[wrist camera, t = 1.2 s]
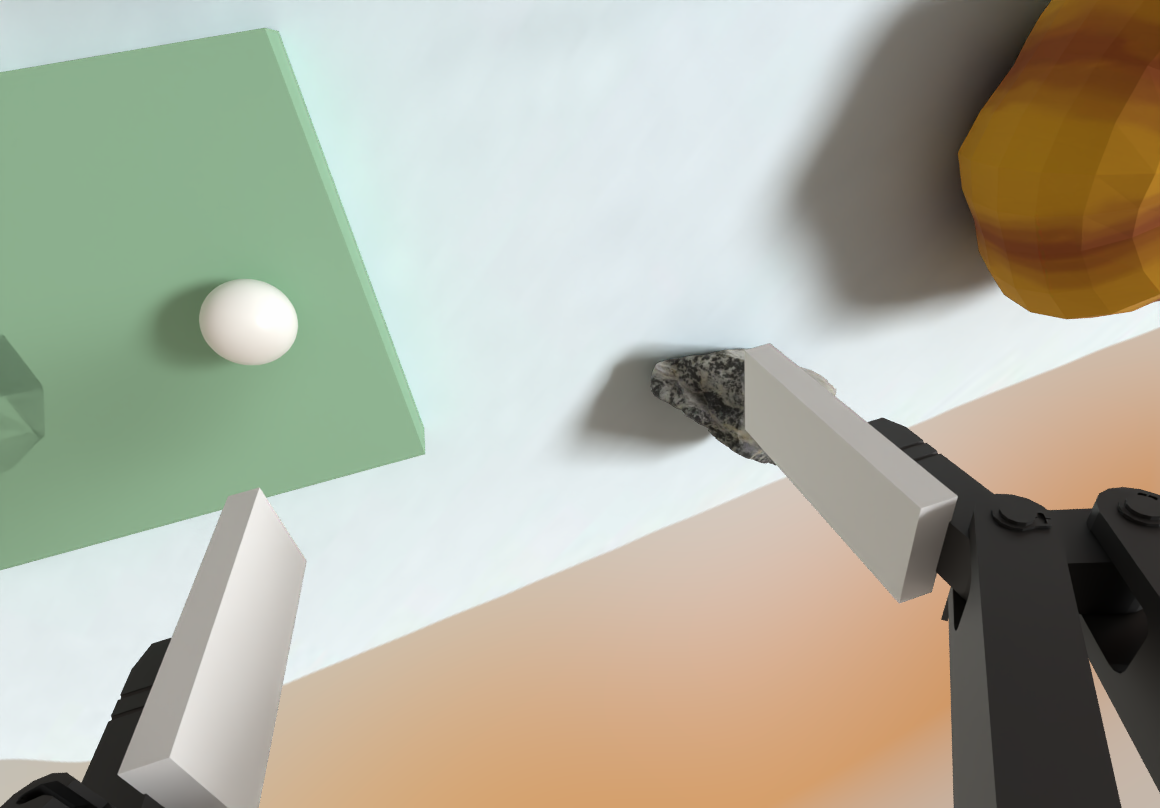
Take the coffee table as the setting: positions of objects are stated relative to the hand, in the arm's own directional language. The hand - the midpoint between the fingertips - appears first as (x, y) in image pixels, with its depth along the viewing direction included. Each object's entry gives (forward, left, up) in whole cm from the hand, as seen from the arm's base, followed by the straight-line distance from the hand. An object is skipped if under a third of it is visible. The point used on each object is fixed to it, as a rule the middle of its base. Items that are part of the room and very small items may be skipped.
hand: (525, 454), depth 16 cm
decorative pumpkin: (+1, +40, -21) cm, 45 cm away
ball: (0, -10, -15) cm, 19 cm away
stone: (+13, +16, -21) cm, 29 cm away
